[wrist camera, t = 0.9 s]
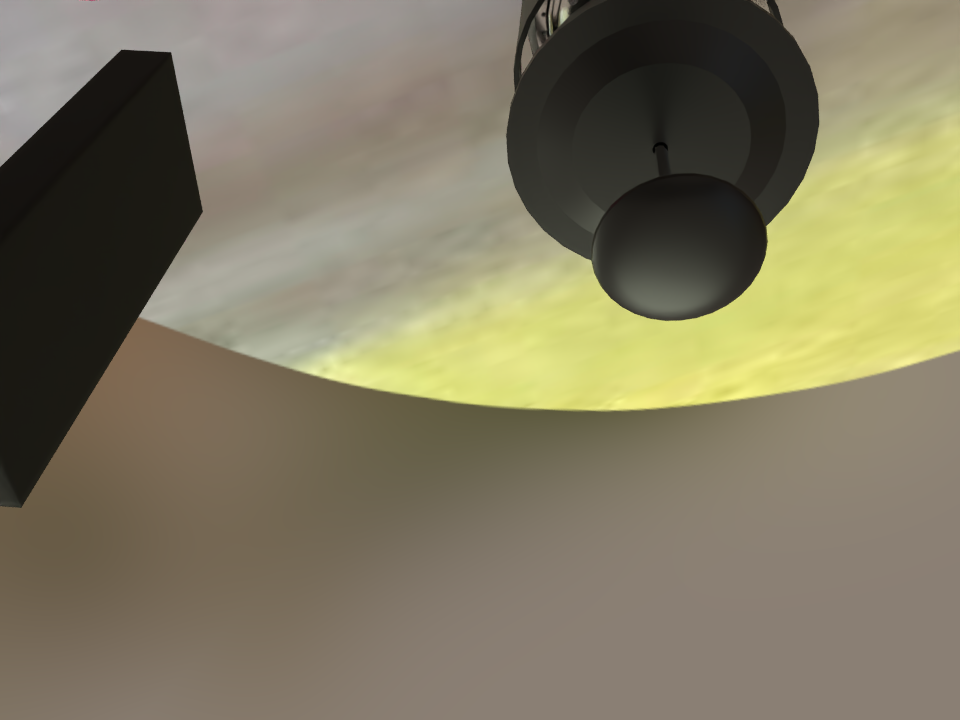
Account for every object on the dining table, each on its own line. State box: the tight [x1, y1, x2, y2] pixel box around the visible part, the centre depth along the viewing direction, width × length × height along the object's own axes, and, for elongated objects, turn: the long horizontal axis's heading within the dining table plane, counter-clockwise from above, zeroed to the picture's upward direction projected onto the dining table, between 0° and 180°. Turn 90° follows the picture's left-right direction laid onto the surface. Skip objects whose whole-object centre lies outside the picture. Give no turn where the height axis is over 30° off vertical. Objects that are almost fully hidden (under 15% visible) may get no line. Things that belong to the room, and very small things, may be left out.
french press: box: [506, 0, 819, 321], centre depth 31 cm, size 12×9×23 cm
